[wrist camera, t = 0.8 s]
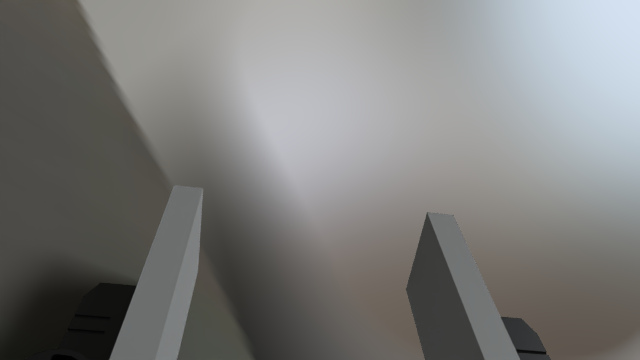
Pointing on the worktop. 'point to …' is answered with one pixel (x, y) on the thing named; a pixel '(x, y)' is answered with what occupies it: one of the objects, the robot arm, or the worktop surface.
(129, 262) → the worktop surface
